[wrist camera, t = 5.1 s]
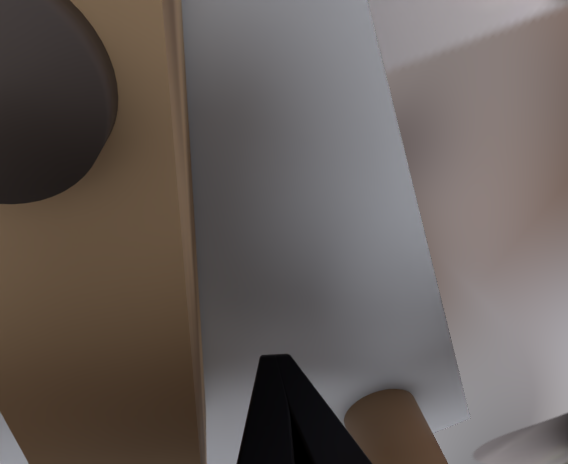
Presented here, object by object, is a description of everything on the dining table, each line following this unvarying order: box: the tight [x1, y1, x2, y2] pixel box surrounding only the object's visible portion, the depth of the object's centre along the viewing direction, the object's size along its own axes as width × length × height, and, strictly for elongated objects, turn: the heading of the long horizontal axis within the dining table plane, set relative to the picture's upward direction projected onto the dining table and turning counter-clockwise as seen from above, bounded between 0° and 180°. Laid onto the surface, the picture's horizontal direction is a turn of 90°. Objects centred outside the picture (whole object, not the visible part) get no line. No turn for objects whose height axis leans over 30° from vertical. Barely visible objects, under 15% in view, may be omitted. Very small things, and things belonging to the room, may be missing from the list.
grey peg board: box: [0, 0, 470, 464], centre depth 9 cm, size 20×20×5 cm
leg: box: [0, 0, 207, 464], centre depth 7 cm, size 11×2×4 cm, turn 175°
